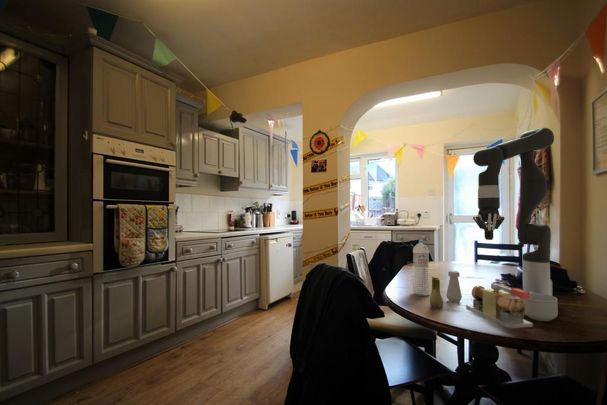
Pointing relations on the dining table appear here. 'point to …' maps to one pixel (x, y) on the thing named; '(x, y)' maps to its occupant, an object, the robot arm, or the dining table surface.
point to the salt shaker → (454, 287)
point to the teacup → (541, 306)
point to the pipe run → (499, 307)
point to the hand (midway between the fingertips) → (489, 239)
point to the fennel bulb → (436, 294)
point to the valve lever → (511, 290)
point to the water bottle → (421, 269)
